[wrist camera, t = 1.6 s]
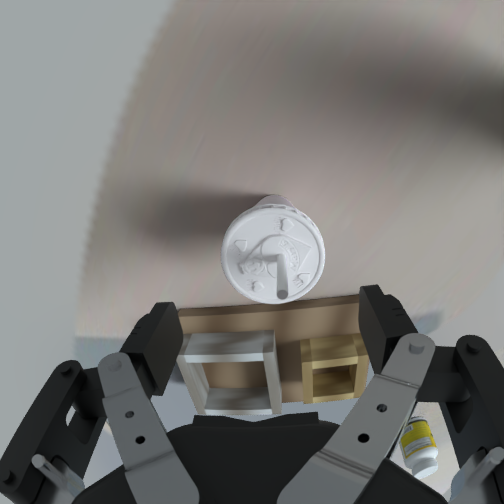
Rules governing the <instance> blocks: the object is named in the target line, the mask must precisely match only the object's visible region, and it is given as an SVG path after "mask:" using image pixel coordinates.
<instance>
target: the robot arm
mask: <svg viewBox="0 0 504 504" xmlns="http://www.w3.org/2000/svg"><path fill="white" fill-rule="evenodd" d="M358 324H359V330H360V333H361V336H362V339H363V342H364V344H365V347H366V350H367V353H368V356H369V359H370V362H371V365H372V368H373V371H374V374H375V375H374V376H373V378H372V380H371V381H370V383H369V384H368V386H367V387H366V389H365V390H364V392H363V393H362V395H361V396H360V398H359V399H358V401H357V402H356V404H355V405H354V407H353V409H352V410H351V411H350V413H349V414H348V415H347V417H346V418H345V420H344V421H343V423H342V424H341V425H338V424H335V423H332V422H328V421H321V420H319V419H318V412H309V413H297V414H286V415H282V416H278V417H274V418H270V419H266V420H262V421H257V422H250V421H245V420H240V419H234V418H230V417H226V416H202V415H194V419H193V423H192V424H188V425H184V426H181V427H178V428H176V429H173V430H171V431H169V432H168V433H167V431H166V429H165V427H164V425H163V423H162V422H161V420H160V418H159V416H158V414H157V412H156V410H155V408H154V406H153V404H152V402H151V400H150V399H151V397H152V395H156V396H162V395H163V393H164V391H165V388H166V386H167V383H168V380H169V378H170V375H171V372H172V370H173V367H174V365H175V362H176V360H177V357H178V354H179V352H180V349H181V347H182V344H183V330H182V326H181V323H180V320H179V317H178V313H177V310H176V307H175V304H174V303H173V302H159V303H156V304H155V305H154V307H153V308H152V310H151V312H150V313H149V314H146V315H144V316H143V317H142V318H141V319H140V320H138V322H137V324H136V325H135V327H134V329H133V330H132V332H131V333H130V334H131V335H129V336H128V338H127V340H126V341H125V343H124V344H123V346H122V348H121V349H120V351H119V352H117V353H112V354H109V355H107V356H106V357H104V358H103V359H102V360H101V361H100V362H99V364H98V367H96V368H90V369H83V368H82V366H81V365H80V363H79V362H78V361H76V360H69V361H65V362H63V363H61V364H60V365H58V366H57V367H56V369H55V370H54V371H53V373H52V374H51V376H50V377H49V379H48V380H47V382H46V383H45V385H44V387H43V388H42V389H41V391H40V393H39V394H38V396H37V397H36V399H35V400H34V402H33V404H32V406H31V407H30V409H29V410H28V412H27V414H26V415H25V417H24V419H23V420H22V422H21V424H20V426H19V427H18V429H17V431H16V432H15V434H14V436H13V438H12V440H11V441H10V443H9V445H8V447H7V449H6V451H5V452H4V454H3V456H2V458H1V460H0V492H1V493H2V494H3V495H4V496H6V497H7V498H8V499H10V500H11V501H12V502H13V503H14V504H504V368H503V366H502V365H501V363H500V361H499V360H498V358H497V357H496V355H495V354H494V352H493V350H492V349H491V347H490V346H489V344H488V343H487V342H486V341H485V340H484V339H483V338H481V337H478V336H475V335H465V336H463V337H461V338H460V339H458V341H457V343H456V347H442V346H435V343H434V341H433V340H432V339H431V338H430V337H428V336H426V335H424V334H420V333H418V331H417V329H416V328H415V326H414V324H413V323H412V321H411V319H410V318H409V316H408V315H407V313H406V311H405V309H403V306H402V305H401V303H400V301H399V300H398V299H396V298H395V297H394V296H392V295H391V294H389V295H384V294H383V292H382V291H381V289H380V287H379V285H377V284H376V285H368V286H361V287H360V292H359V312H358ZM418 402H438V403H439V405H440V408H441V411H442V414H443V417H444V420H445V422H446V425H447V428H448V431H449V435H450V438H451V441H452V444H453V447H454V450H455V454H456V457H457V461H458V464H459V468H460V470H459V471H458V472H457V474H456V475H455V476H454V478H453V480H452V483H451V497H450V501H449V502H447V501H446V500H445V498H444V497H443V496H442V495H441V494H439V493H438V492H436V491H435V490H433V489H432V488H430V487H429V486H427V485H426V484H424V483H423V482H421V481H420V480H418V479H417V478H415V477H414V476H412V475H411V474H410V473H408V472H407V471H405V470H404V469H402V468H401V467H399V466H398V465H397V464H395V463H394V462H392V461H391V460H390V459H391V457H392V455H393V453H394V451H395V449H396V447H397V445H398V443H399V441H400V439H401V437H402V435H403V433H404V431H405V429H406V427H407V425H408V423H409V421H410V419H411V417H412V415H413V412H414V410H415V408H416V406H417V403H418ZM71 406H73V408H74V409H75V410H76V411H75V413H74V415H73V417H72V419H71V421H70V423H69V425H68V426H67V424H66V415H67V413H68V411H69V409H70V408H71ZM107 418H108V422H109V425H110V428H111V431H112V434H113V437H114V440H115V443H116V445H117V448H118V451H119V454H120V456H121V459H122V461H123V465H121V466H120V467H118V468H117V469H116V470H114V471H112V472H111V473H109V474H108V475H106V476H105V477H103V478H102V479H100V480H99V481H97V482H95V483H94V484H92V485H91V486H89V487H88V488H86V489H85V485H84V482H83V478H84V475H85V472H86V469H87V467H88V464H89V462H90V459H91V456H92V454H93V451H94V448H95V446H96V444H97V441H98V439H99V436H100V433H101V431H102V429H103V426H104V424H105V421H106V419H107Z"/></svg>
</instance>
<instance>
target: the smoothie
mask: <svg viewBox="0 0 504 504" xmlns="http://www.w3.org/2000/svg"><path fill="white" fill-rule="evenodd" d="M221 264H222V268H223V271H224V274H225V276H226V278H227V279H228V281H229V282H230V284H231V285H232V286H233V287H234V288H235V289H236V290H237V291H238V292H239V293H241V294H242V295H244V296H245V297H247V298H249V299H251V300H254V301H257V302H260V303H266V304H281V303H286V302H290V301H293V300H295V299H298V298H299V297H301V296H303V295H304V294H306V293H307V292H308V291H310V290H311V289H312V288H313V286H314V285H315V284H316V283H317V281H318V280H319V278H320V276H321V274H322V271H323V268H324V264H325V249H324V244H323V239H322V236H321V234H320V232H319V230H318V228H317V226H316V225H315V224H314V223H313V221H312V220H311V219H310V218H309V217H308V216H307V215H305V214H304V213H302V212H301V211H299V210H298V209H296V208H295V207H294V206H293V205H292V203H291V202H290V201H289V200H288V199H286V198H285V197H282V196H279V195H270V196H266V197H264V198H263V199H261V200H260V201H259V202H258V203H257V204H256V205H255V206H254V207H253V208H251V209H248V210H246V211H244V212H243V213H241V214H240V215H239V216H238V217H237V218H236V219H235V220H234V221H233V222H232V223H231V225H230V226H229V228H228V229H227V231H226V233H225V236H224V239H223V243H222V247H221Z"/></svg>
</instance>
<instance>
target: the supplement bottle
mask: <svg viewBox="0 0 504 504" xmlns="http://www.w3.org/2000/svg"><path fill="white" fill-rule="evenodd" d="M399 444H400V448H401V451H402V455H403V459H404V462H405V465H406V467H407V468H409V469H412V474H413V476H414V477H415V478H417V479H421V478H424V477H427V476H429V475H431V474H432V473H434V472H435V471H436V470H437V469H438V464H437V461H436V460H435V458H436V456H437V454H438V450H437V447H436V444H435V442H434V439H433V436H432V433H431V431H430V428H429V425H428V423H427V420H426V419H425V418H423V417H416V418H412V419H410V421H409V423H408V425H407V427H406V429H405V431H404V433H403V435H402V437H401V439H400V441H399Z"/></svg>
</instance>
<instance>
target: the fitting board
mask: <svg viewBox="0 0 504 504" xmlns="http://www.w3.org/2000/svg"><path fill="white" fill-rule="evenodd" d="M358 312H359V295H350V296H342V297H333V298H323V299H313V300H303V301H292V302H286V303H281V304H256V305H243V306H228V307H211V308H192V309H180V311H179V313H178V317H179V320H180V323H181V326H182V330H183V344H182V347H181V349H180V352H179V354H178V357H177V360H176V361H177V363H178V366H179V369H180V371H181V374H182V376H183V379H184V381H185V384H186V386H187V389H188V391H189V393H190V396H191V398H192V401H193V403H194V405H195V408H196V410H197V412H198V414H205V415H206V414H207V415H268V414H281V408H282V403H286V402H300V401H304V404H308V403H319V402H328V401H337V400H344V399H352V398H359V397H360V396H361V395H362V393H363V392H364V390H365V386H366V379H367V373H368V366H369V356H368V353H367V350H366V347H365V344H364V342H363V339H362V336H361V333H360V330H359V324H358Z"/></svg>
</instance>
